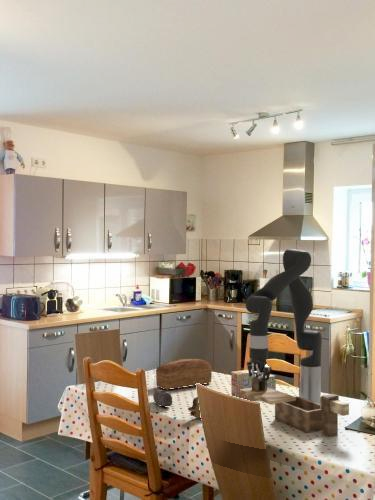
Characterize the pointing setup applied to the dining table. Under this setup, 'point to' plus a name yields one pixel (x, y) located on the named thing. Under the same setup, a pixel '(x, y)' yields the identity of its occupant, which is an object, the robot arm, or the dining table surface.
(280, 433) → the dining table surface
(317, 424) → the brown wooden blocky piece
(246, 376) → the stack of blocks
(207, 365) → the bread
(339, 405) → the wooden key
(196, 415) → the wooden carving
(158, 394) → the perforated stone tool
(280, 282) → the robot arm
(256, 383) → the lid
